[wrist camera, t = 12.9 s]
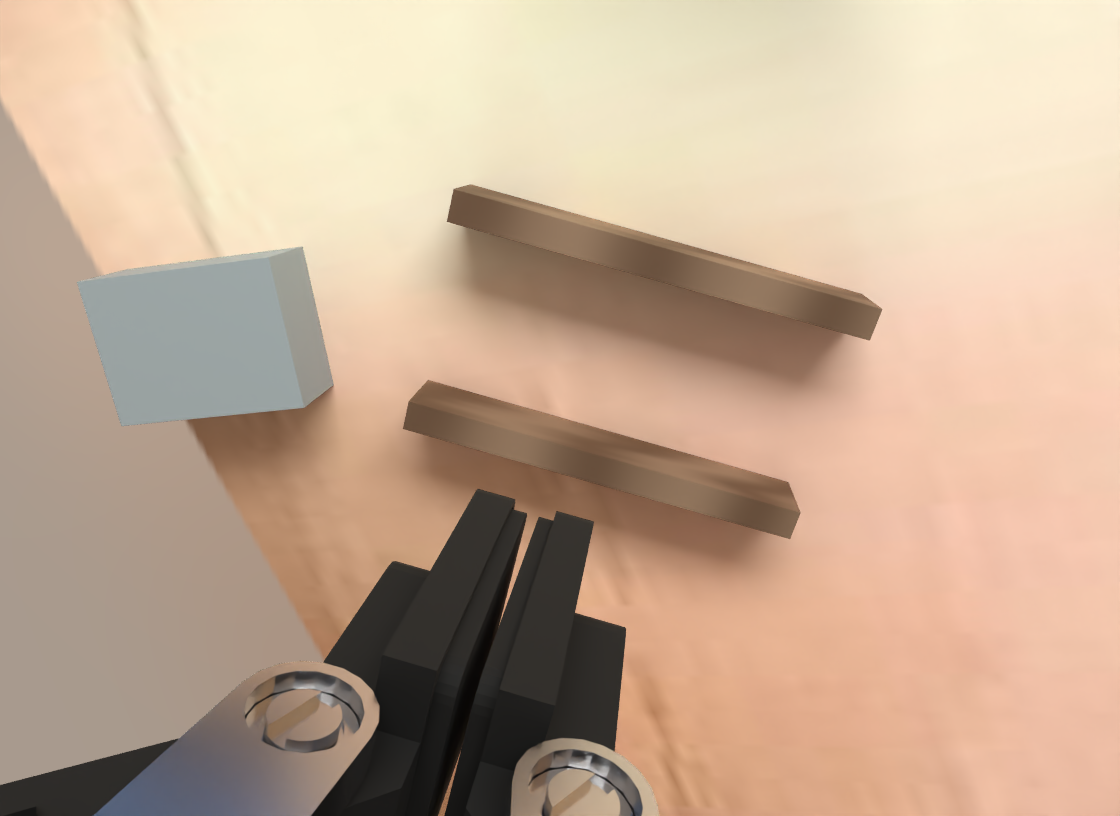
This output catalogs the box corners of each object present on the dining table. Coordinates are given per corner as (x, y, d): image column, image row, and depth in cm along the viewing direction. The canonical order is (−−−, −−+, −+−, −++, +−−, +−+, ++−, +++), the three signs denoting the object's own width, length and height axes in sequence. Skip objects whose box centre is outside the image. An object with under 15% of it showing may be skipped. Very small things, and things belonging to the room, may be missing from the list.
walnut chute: (862, 293, 32) (882, 309, 29) (778, 507, 35) (789, 539, 33) (470, 184, 33) (453, 189, 30) (422, 405, 36) (403, 428, 33)
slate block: (305, 245, 34) (268, 257, 31) (335, 382, 36) (304, 407, 33) (130, 268, 35) (76, 281, 32) (168, 400, 37) (121, 426, 34)
